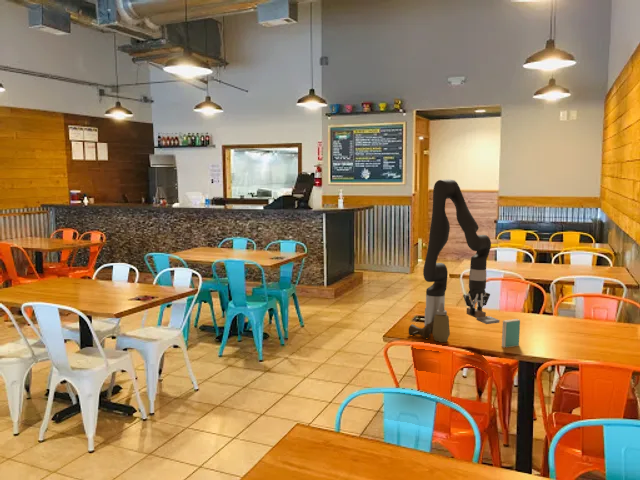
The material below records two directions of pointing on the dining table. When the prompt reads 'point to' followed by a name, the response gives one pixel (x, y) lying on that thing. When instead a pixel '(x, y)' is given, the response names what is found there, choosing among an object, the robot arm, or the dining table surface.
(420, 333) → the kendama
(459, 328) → the dining table surface
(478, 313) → the dark piece
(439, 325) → the squeeze bottle
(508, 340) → the ceramic tile
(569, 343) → the dining table surface
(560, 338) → the dining table surface
